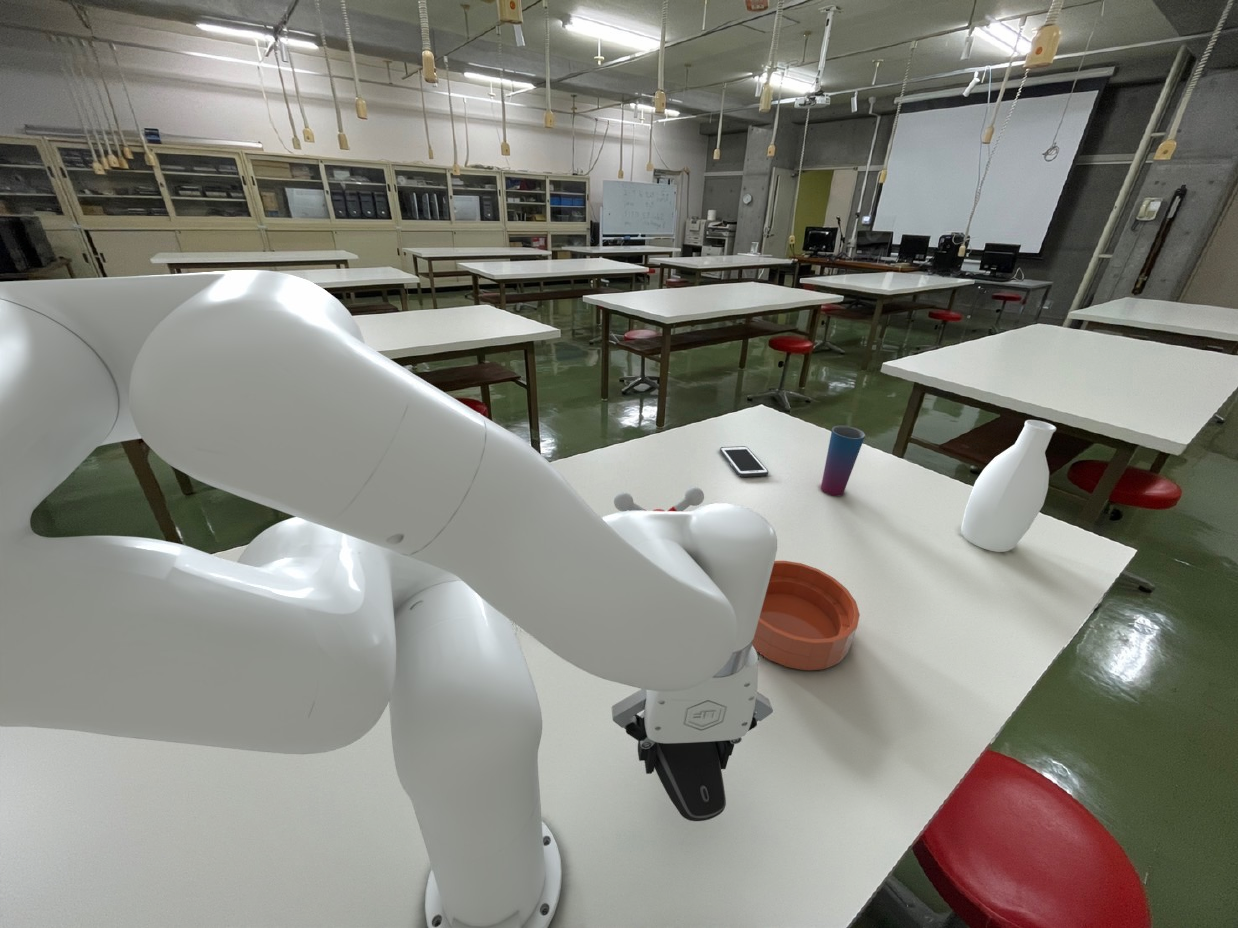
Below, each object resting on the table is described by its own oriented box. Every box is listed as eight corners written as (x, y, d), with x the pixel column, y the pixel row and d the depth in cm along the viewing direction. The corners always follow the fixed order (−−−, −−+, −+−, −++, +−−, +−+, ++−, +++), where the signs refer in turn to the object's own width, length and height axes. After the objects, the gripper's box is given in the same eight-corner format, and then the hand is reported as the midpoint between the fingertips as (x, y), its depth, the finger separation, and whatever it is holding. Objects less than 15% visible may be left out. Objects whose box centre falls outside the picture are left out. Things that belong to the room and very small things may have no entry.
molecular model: (691, 520, 103) (696, 478, 99) (703, 536, 98) (710, 493, 94) (610, 532, 99) (612, 489, 94) (618, 550, 94) (620, 505, 89)
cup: (810, 486, 118) (825, 428, 111) (831, 480, 120) (847, 423, 113) (832, 500, 112) (849, 440, 105) (854, 494, 115) (872, 435, 108)
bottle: (965, 550, 98) (1020, 432, 85) (946, 519, 107) (993, 409, 95) (1029, 561, 95) (1094, 441, 83) (1004, 528, 105) (1060, 416, 93)
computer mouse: (674, 832, 47) (679, 807, 45) (635, 715, 57) (638, 692, 55) (741, 813, 49) (748, 789, 47) (692, 703, 59) (696, 680, 57)
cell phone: (745, 449, 134) (746, 445, 133) (769, 476, 121) (770, 472, 120) (718, 450, 132) (719, 447, 132) (739, 477, 120) (739, 474, 119)
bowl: (871, 668, 72) (883, 639, 69) (755, 676, 70) (762, 646, 67) (817, 585, 87) (825, 558, 84) (720, 589, 85) (725, 562, 82)
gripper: (615, 673, 40) (603, 801, 48) (819, 666, 42) (774, 789, 50) (608, 606, 47) (598, 728, 55) (784, 603, 49) (750, 721, 57)
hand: (683, 756), depth 52 cm, fingers closed on computer mouse, 7 cm apart
